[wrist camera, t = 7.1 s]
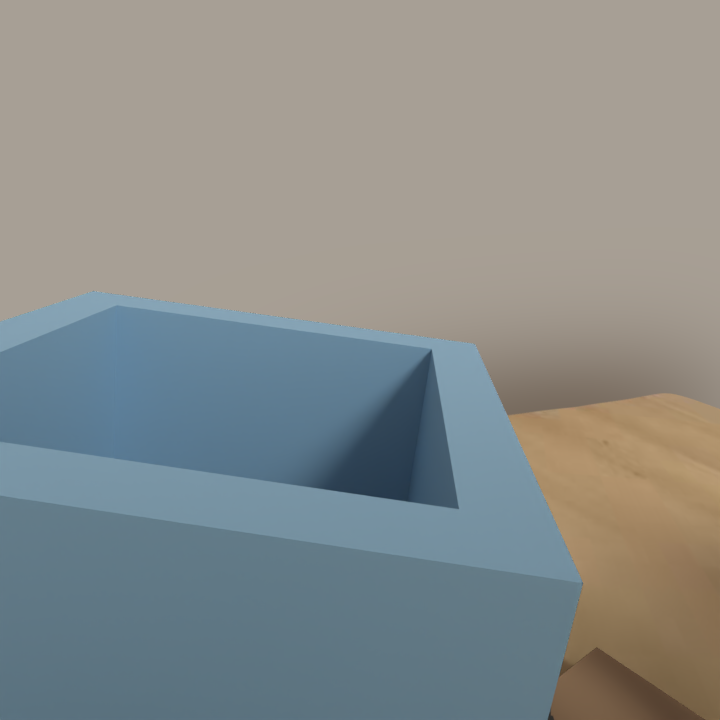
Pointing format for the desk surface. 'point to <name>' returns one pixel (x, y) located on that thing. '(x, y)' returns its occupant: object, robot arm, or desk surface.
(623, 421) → the desk surface
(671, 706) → the peg board
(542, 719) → the sleeve
